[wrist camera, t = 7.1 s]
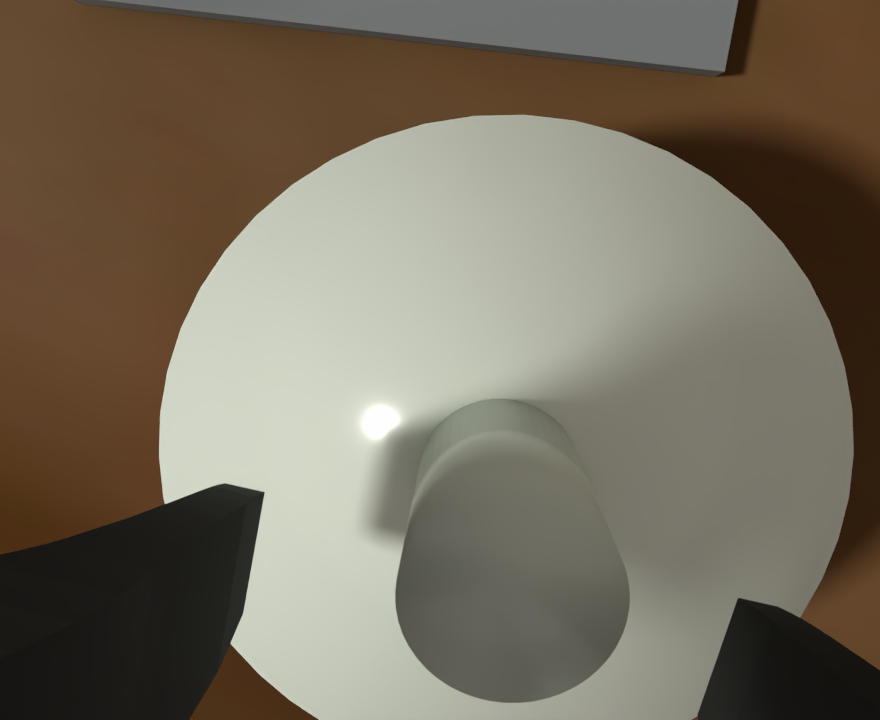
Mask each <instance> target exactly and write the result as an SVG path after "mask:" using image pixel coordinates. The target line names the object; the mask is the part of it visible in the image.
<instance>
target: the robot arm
mask: <svg viewBox="0 0 880 720" xmlns="http://www.w3.org/2000/svg"><path fill="white" fill-rule="evenodd" d="M264 493H265V492H262V491H258V490H253V489H249V488H244V487H240V486H235V485H231V484H226V483H223V484H219V485H215V486H212V487H209V488H206V489H204V490H201V491H198V492H196V493H193V494H190V495H188V496H185V497H183V498H180V499H177V500H175V501H172V502H170V503H167V504H164V505H162V506H159V507H156V508H154V509H151V510H149V511H146V512H143V513H141V514H138V515H135V516H133V517H130V518H127V519H124V520H121V521H118V522H115V523H112V524H109V525H106V526H103V527H99V528H96V529H93V530H90V531H87V532H84V533H81V534H78V535H75V536H72V537H69V538H65V539H62V540H58V541H55V542H51V543H48V544H44V545H40V546H36V547H32V548H28V549H24V550H19V551H15V552H11V553H6V554H2V555H0V720H189V719H190V717H191V715H192V714H193V712H194V710H195V709H196V707H197V705H198V704H199V702H200V700H201V699H202V697H203V695H204V694H205V692H206V690H207V689H208V687H209V685H210V684H211V682H212V680H213V679H214V677H215V675H216V673H217V672H218V669H219V667H220V665H221V663H222V661H223V658H224V656H225V654H226V652H227V650H228V647H229V645H230V643H231V641H232V638H233V636H234V634H235V631H236V629H237V627H238V624H239V622H240V620H241V617H242V615H243V612H244V606H245V600H246V595H247V589H248V583H249V578H250V572H251V567H252V561H253V555H254V550H255V544H256V538H257V533H258V527H259V522H260V516H261V510H262V505H263V499H264ZM697 715H698V719H699V720H880V670H878V669H877V668H875V667H874V666H872V665H871V664H870V663H868V662H867V661H865V660H864V659H862V658H861V657H859V656H858V655H856V654H855V653H853V652H852V651H850V650H849V649H847V648H846V647H845V646H843V645H842V644H840V643H839V642H837V641H836V640H834V639H833V638H831V637H830V636H828V635H827V634H825V633H823V632H822V631H820V630H819V629H817V628H816V627H814V626H812V625H811V624H809V623H808V622H806V621H804V620H803V619H801V618H799V617H797V616H796V615H794V614H792V613H790V612H788V611H786V610H784V609H782V608H780V607H778V606H773V605H769V604H764V603H760V602H755V601H751V600H746V599H742V598H738V599H737V602H736V605H735V608H734V611H733V614H732V617H731V619H730V622H729V625H728V628H727V631H726V634H725V637H724V640H723V642H722V645H721V648H720V651H719V654H718V657H717V660H716V663H715V666H714V668H713V671H712V674H711V677H710V680H709V683H708V686H707V689H706V691H705V694H704V697H703V700H702V703H701V706H700V709H699V712H698V714H697Z"/></svg>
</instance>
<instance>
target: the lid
mask: <svg viewBox="0 0 880 720" xmlns="http://www.w3.org/2000/svg"><path fill="white" fill-rule="evenodd" d="M853 456H854V446H853V415H852V405H851V399H850V394H849V388H848V382H847V377H846V371H845V366H844V363H843V360H842V357H841V354H840V351H839V348H838V344H837V341H836V338H835V335H834V332H833V329H832V326H831V323H830V321H829V319H828V317H827V315H826V313H825V311H824V309H823V307H822V305H821V303H820V301H819V299H818V297H817V295H816V293H815V291H814V289H813V287H812V285H811V283H810V281H809V280H808V278H807V277H806V275H805V274H804V273H803V271H802V270H801V268H800V267H799V265H798V264H797V263H796V261H795V260H794V258H793V257H792V255H791V254H790V253H789V251H788V250H787V248H786V247H785V245H784V244H783V243H782V241H781V240H780V239H779V238H778V237H777V236H776V235H775V234H774V233H773V232H772V231H771V230H770V229H769V228H768V227H767V225H766V224H765V223H764V222H763V221H762V220H761V219H760V218H759V217H758V216H757V215H756V214H755V213H754V212H753V211H752V210H751V208H750V207H748V206H747V205H746V204H745V203H743V202H742V201H741V200H740V199H738V198H737V197H736V196H735V195H733V194H732V193H731V192H730V191H728V190H727V189H726V188H725V187H723V186H722V185H721V184H720V183H718V182H717V181H716V180H715V179H713V178H712V177H711V176H709V175H707V174H705V173H704V172H702V171H700V170H699V169H697V168H695V167H693V166H692V165H690V164H688V163H687V162H685V161H683V160H682V159H680V158H678V157H676V156H675V155H673V154H671V153H670V152H668V151H665V150H663V149H660V148H658V147H655V146H653V145H651V144H648V143H646V142H643V141H641V140H638V139H636V138H634V137H631V136H629V135H626V134H624V133H621V132H617V131H613V130H609V129H605V128H601V127H597V126H593V125H590V124H586V123H582V122H578V121H574V120H565V119H556V118H548V117H539V116H530V115H495V116H471V117H464V118H458V119H452V120H446V121H440V122H433V123H427V124H423V125H419V126H416V127H413V128H409V129H406V130H403V131H400V132H396V133H393V134H390V135H387V136H383V137H380V138H377V139H375V140H372V141H370V142H368V143H366V144H364V145H362V146H360V147H357V148H355V149H353V150H351V151H349V152H347V153H344V154H342V155H340V156H338V157H336V158H334V159H332V160H330V161H329V162H327V163H325V164H324V165H322V166H321V167H319V168H318V169H316V170H315V171H313V172H311V173H310V174H308V175H307V176H305V177H304V178H302V179H301V180H299V181H297V182H296V183H294V184H293V185H291V186H290V187H289V188H288V189H287V190H285V191H284V192H283V193H282V194H281V195H280V196H279V197H277V198H276V199H275V200H274V201H273V202H272V203H270V204H269V205H268V206H267V207H266V208H265V209H263V210H262V211H261V212H260V213H259V214H258V215H256V216H255V217H254V219H253V220H252V221H251V222H250V223H249V224H248V225H247V226H246V228H245V229H244V230H243V231H242V232H241V233H240V234H239V236H238V237H237V238H236V239H235V240H234V241H233V242H232V243H231V245H230V246H229V247H228V248H227V249H226V250H225V252H224V253H223V255H222V256H221V258H220V259H219V261H218V262H217V264H216V265H215V267H214V268H213V270H212V271H211V273H210V274H209V276H208V277H207V279H206V280H205V282H204V283H203V285H202V286H201V288H200V290H199V292H198V294H197V296H196V298H195V300H194V302H193V304H192V306H191V308H190V311H189V313H188V315H187V317H186V319H185V321H184V323H183V325H182V327H181V330H180V333H179V336H178V339H177V342H176V345H175V349H174V352H173V355H172V358H171V361H170V364H169V368H168V371H167V376H166V382H165V388H164V394H163V400H162V406H161V412H160V439H159V461H160V470H161V479H162V489H163V498H164V502H165V504H167V503H170V502H172V501H175V500H177V499H180V498H183V497H185V496H188V495H190V494H193V493H196V492H198V491H201V490H204V489H206V488H209V487H212V486H215V485H219V484H223V483H226V484H231V485H235V486H240V487H244V488H249V489H253V490H258V491H262V492H265V493H264V499H263V505H262V510H261V516H260V522H259V527H258V533H257V538H256V544H255V550H254V555H253V561H252V567H251V572H250V578H249V583H248V589H247V595H246V600H245V606H244V612H243V615H242V617H241V620H240V622H239V624H238V627H237V629H236V631H235V634H234V636H233V638H232V641H231V645H232V646H233V647H234V648H235V649H236V650H237V651H238V652H239V653H240V654H241V655H242V656H243V658H244V659H245V660H246V661H247V662H248V663H249V664H250V665H251V666H252V667H253V668H254V669H255V670H256V672H257V673H258V674H259V675H260V676H262V677H263V678H264V679H265V680H266V681H268V682H269V683H270V684H271V685H272V686H274V687H275V688H276V689H277V690H278V691H279V692H281V693H282V694H283V695H284V696H285V697H287V698H288V699H289V700H290V701H292V702H293V703H295V704H296V705H298V706H299V707H301V708H302V709H304V710H305V711H307V712H308V713H310V714H311V715H313V716H314V717H316V718H317V719H319V720H692V719H693V718H695V717H696V716H698V715H697V714H698V712H699V709H700V706H701V703H702V700H703V697H704V694H705V691H706V689H707V686H708V683H709V680H710V677H711V674H712V671H713V668H714V666H715V663H716V660H717V657H718V654H719V651H720V648H721V645H722V642H723V640H724V637H725V634H726V631H727V628H728V625H729V622H730V619H731V617H732V614H733V611H734V608H735V605H736V602H737V599H738V598H742V599H746V600H751V601H755V602H760V603H764V604H769V605H773V606H778V607H780V608H782V609H784V610H786V611H788V612H790V613H792V614H794V615H796V616H797V617H799V618H800V617H801V615H802V614H803V612H804V610H805V608H806V607H807V605H808V603H809V601H810V600H811V598H812V596H813V594H814V593H815V591H816V589H817V587H818V586H819V584H820V582H821V580H822V578H823V576H824V573H825V571H826V568H827V566H828V564H829V561H830V559H831V556H832V554H833V551H834V549H835V546H836V544H837V541H838V539H839V535H840V531H841V527H842V523H843V519H844V515H845V511H846V507H847V503H848V499H849V493H850V483H851V474H852V465H853Z"/></svg>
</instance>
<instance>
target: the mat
mask: <svg viewBox="0 0 880 720" xmlns="http://www.w3.org/2000/svg"><path fill="white" fill-rule="evenodd" d="M75 1H77V2H79V3H81V4H88V5H96V6H105V7H114V8H123V9H131V10H140V11H149V12H157V13H166V14H175V15H183V16H192V17H201V18H209V19H218V20H227V21H236V22H244V23H253V24H262V25H270V26H279V27H288V28H296V29H305V30H314V31H322V32H331V33H340V34H349V35H357V36H366V37H375V38H383V39H392V40H401V41H409V42H418V43H427V44H435V45H444V46H453V47H462V48H470V49H479V50H488V51H496V52H505V53H514V54H522V55H531V56H540V57H548V58H557V59H566V60H575V61H583V62H592V63H601V64H609V65H618V66H627V67H635V68H644V69H653V70H661V71H670V72H679V73H688V74H696V75H705V76H714V77H716V76H718V75H719V74H721V73H723V72H725V68H726V63H727V57H728V52H729V47H730V42H731V36H732V31H733V26H734V21H735V15H736V10H737V5H738V0H75Z"/></svg>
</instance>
